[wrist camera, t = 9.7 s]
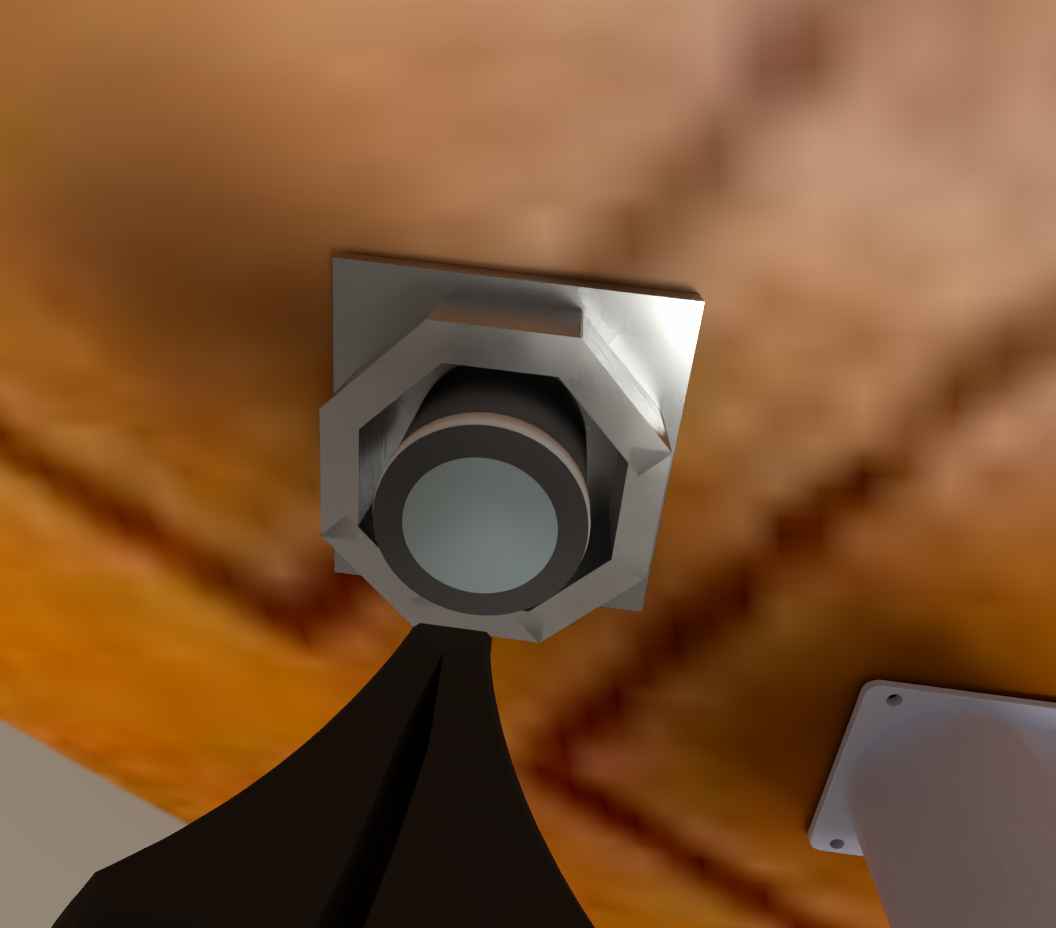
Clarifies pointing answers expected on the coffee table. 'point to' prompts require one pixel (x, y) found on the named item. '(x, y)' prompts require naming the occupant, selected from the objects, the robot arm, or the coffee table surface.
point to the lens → (487, 493)
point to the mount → (520, 346)
